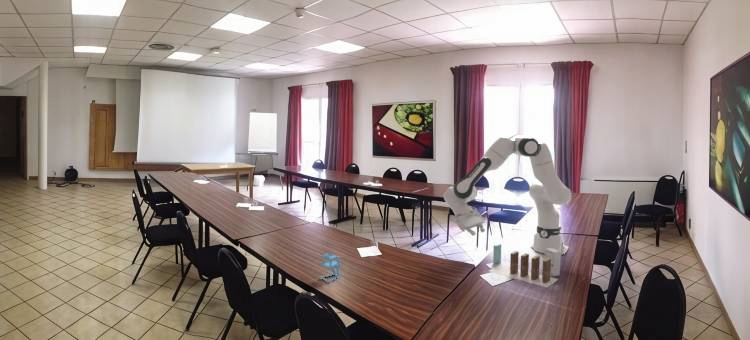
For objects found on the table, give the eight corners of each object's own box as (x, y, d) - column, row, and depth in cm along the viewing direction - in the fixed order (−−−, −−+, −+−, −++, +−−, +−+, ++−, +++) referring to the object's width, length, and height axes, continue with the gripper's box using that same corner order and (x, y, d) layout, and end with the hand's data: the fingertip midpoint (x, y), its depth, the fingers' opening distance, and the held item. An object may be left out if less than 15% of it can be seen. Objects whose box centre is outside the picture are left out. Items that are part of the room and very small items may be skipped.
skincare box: (543, 272, 178) (544, 248, 177) (550, 271, 180) (551, 247, 179) (552, 277, 173) (553, 252, 172) (560, 276, 174) (561, 251, 173)
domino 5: (542, 282, 165) (542, 260, 164) (546, 279, 169) (547, 258, 168) (545, 283, 164) (546, 261, 163) (550, 280, 168) (550, 258, 167)
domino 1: (493, 264, 191) (493, 245, 190) (498, 262, 194) (498, 243, 194) (496, 265, 190) (496, 246, 189) (500, 262, 193) (501, 244, 192)
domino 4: (530, 279, 169) (531, 258, 168) (535, 276, 172) (536, 255, 171) (534, 280, 168) (535, 258, 167) (539, 277, 171) (539, 256, 170)
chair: (343, 278, 174) (343, 253, 173) (330, 283, 168) (329, 257, 167) (332, 274, 179) (332, 249, 178) (319, 278, 173) (319, 253, 172)
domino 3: (520, 276, 172) (520, 255, 172) (525, 273, 176) (525, 253, 175) (523, 277, 171) (524, 256, 170) (528, 274, 175) (528, 254, 174)
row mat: (501, 265, 189) (501, 264, 189) (558, 280, 169) (558, 279, 169) (488, 272, 180) (488, 270, 180) (547, 288, 160) (547, 287, 160)
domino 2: (510, 273, 176) (510, 253, 175) (514, 271, 180) (515, 250, 179) (513, 274, 175) (513, 254, 174) (518, 271, 178) (518, 251, 177)
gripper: (456, 212, 196) (472, 233, 190) (476, 206, 210) (492, 226, 204) (449, 219, 200) (464, 240, 193) (469, 213, 214) (485, 233, 207)
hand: (479, 233), depth 199 cm, fingers open, 8 cm apart
